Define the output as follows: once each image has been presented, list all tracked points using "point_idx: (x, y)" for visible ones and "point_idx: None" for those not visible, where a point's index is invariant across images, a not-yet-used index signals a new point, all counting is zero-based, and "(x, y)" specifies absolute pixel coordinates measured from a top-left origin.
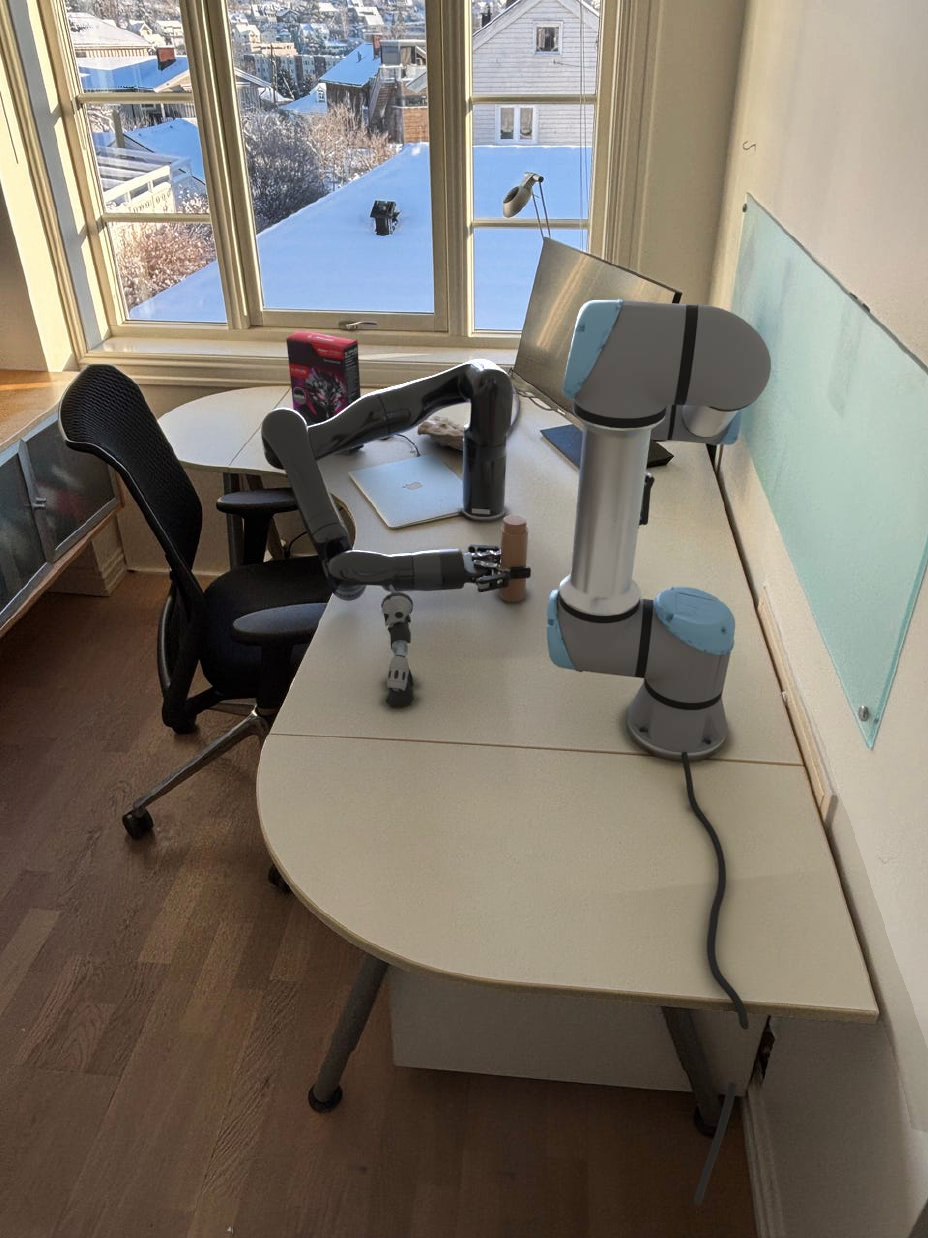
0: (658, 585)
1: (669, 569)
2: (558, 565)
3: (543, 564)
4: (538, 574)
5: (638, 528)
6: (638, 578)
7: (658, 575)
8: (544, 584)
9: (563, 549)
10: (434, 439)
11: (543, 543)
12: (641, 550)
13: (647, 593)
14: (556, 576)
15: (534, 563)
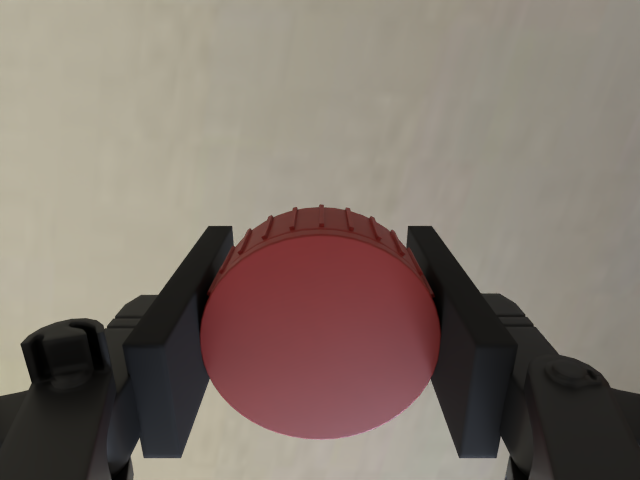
0: (91, 166)
1: (37, 285)
2: None
3: None
4: (583, 282)
5: (39, 332)
6: (174, 227)
7: (86, 244)
8: (588, 207)
9: (427, 433)
10: None
11: (487, 469)
12: None
13: (147, 101)
14: (515, 263)
15: (568, 356)
